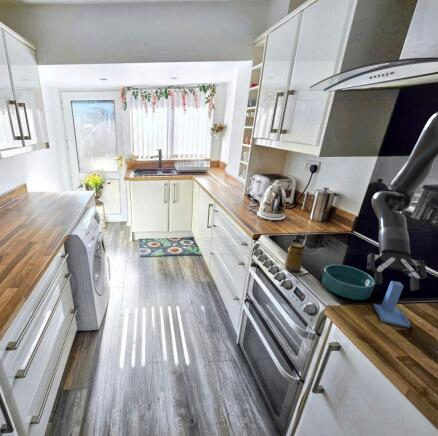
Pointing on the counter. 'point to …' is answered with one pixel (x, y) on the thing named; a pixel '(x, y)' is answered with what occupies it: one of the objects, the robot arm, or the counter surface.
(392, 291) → the blue base with post
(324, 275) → the teal ribbed bowl
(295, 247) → the condiment
